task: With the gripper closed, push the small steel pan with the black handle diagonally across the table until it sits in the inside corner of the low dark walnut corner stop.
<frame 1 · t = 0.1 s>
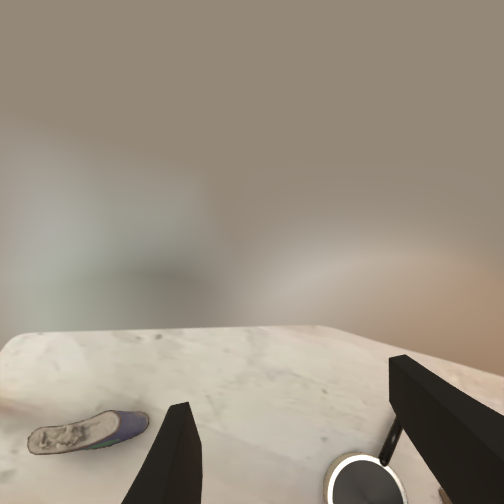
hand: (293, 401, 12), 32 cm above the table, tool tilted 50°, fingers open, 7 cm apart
steel pan: (360, 494, 36), on the table
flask: (112, 431, 41), on the table
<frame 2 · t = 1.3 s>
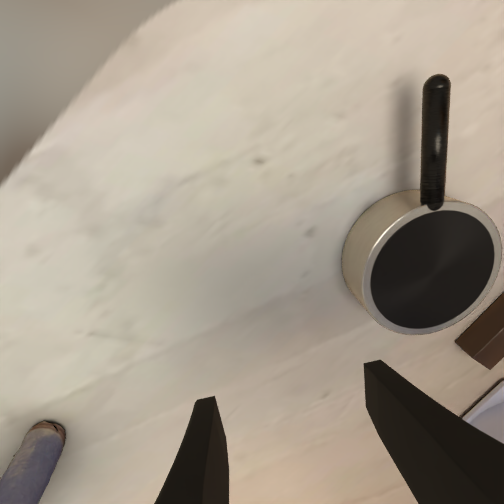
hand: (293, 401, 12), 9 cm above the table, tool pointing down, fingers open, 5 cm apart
steel pan: (403, 253, 21), on the table
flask: (31, 463, 24), on the table
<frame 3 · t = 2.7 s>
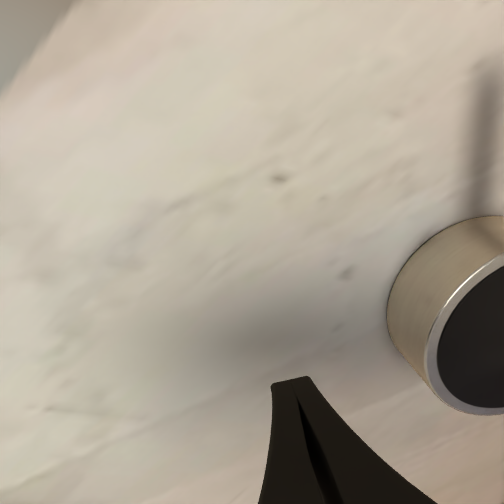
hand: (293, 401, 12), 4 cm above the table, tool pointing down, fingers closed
steel pan: (468, 298, 16), on the table
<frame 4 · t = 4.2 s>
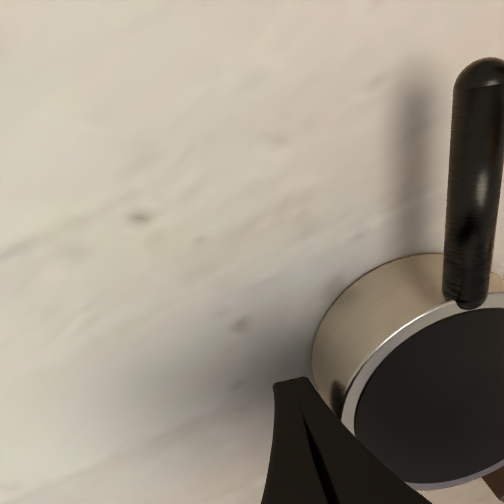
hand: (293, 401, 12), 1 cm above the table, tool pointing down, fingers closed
steel pan: (408, 346, 13), on the table, touching gripper
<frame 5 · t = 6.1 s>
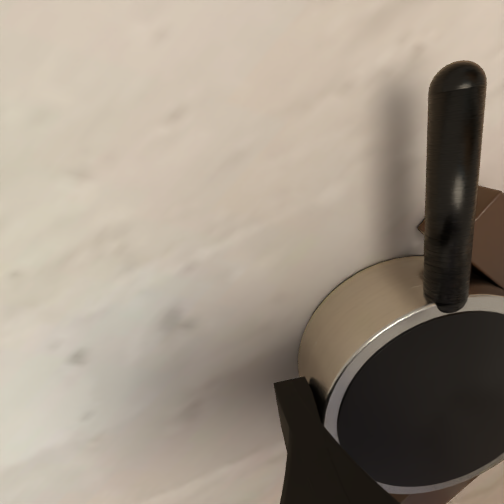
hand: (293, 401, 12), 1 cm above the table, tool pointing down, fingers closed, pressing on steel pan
steel pan: (395, 348, 13), on the table, touching corner stop, gripper
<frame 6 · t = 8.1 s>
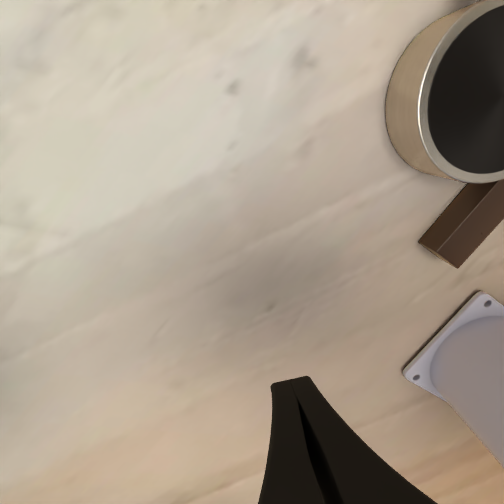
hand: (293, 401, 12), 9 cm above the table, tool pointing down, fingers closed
steel pan: (456, 99, 18), on the table
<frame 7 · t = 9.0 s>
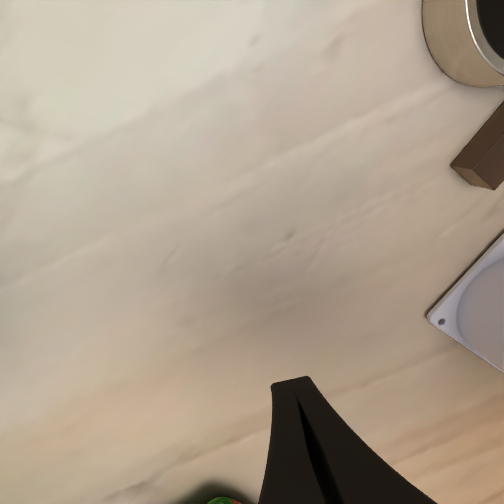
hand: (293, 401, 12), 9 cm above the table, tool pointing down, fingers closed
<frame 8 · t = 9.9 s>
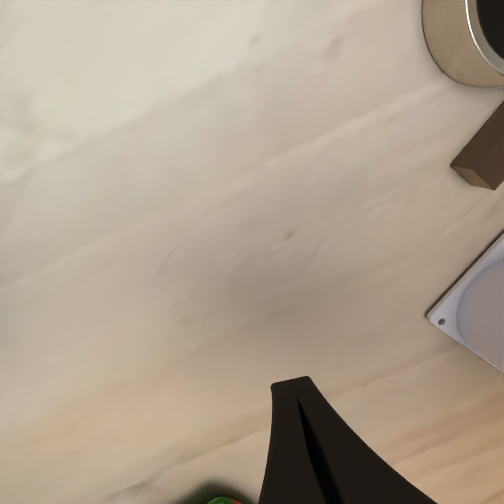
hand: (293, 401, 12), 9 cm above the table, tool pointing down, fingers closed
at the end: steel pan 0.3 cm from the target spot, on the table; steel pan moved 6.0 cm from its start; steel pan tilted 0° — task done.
